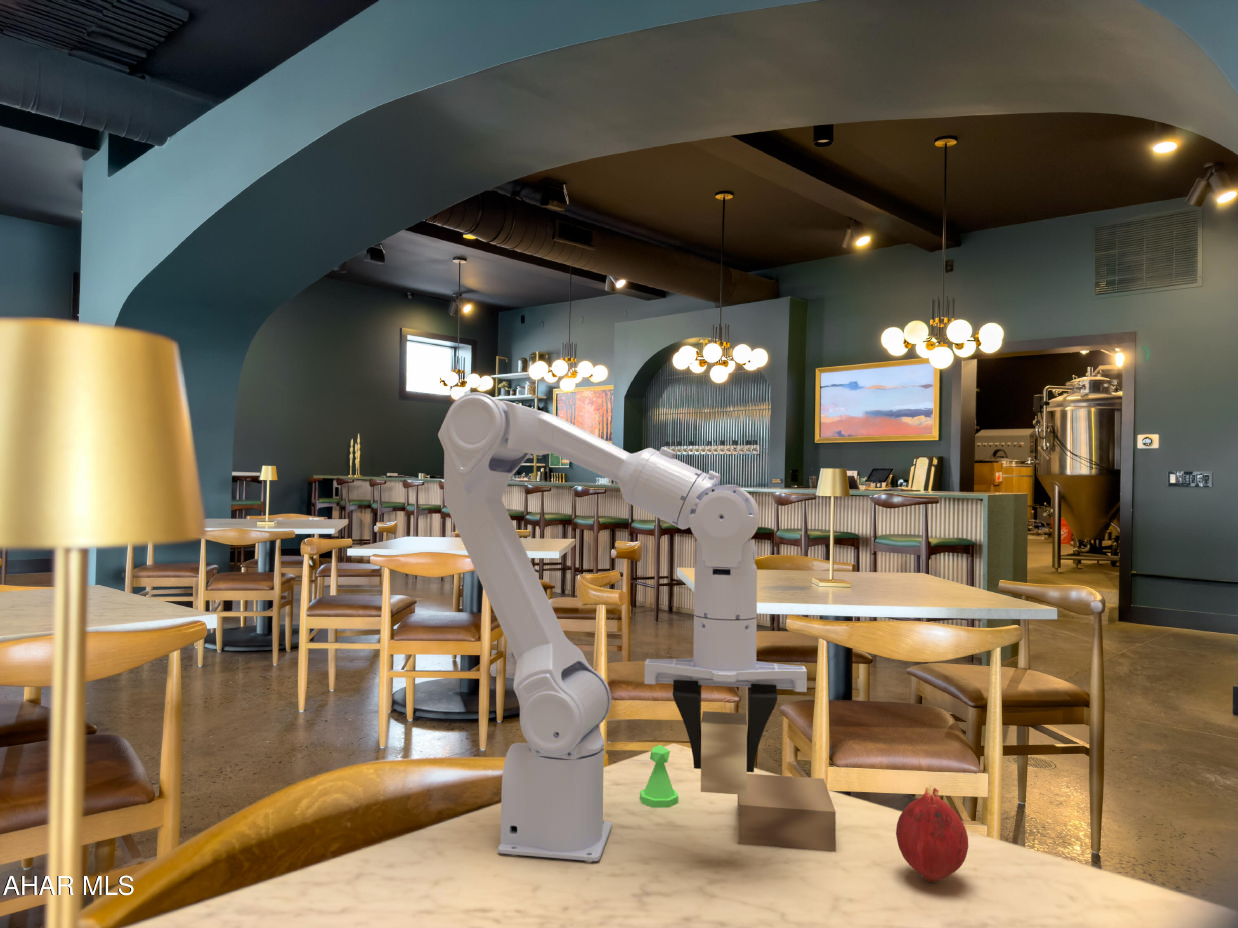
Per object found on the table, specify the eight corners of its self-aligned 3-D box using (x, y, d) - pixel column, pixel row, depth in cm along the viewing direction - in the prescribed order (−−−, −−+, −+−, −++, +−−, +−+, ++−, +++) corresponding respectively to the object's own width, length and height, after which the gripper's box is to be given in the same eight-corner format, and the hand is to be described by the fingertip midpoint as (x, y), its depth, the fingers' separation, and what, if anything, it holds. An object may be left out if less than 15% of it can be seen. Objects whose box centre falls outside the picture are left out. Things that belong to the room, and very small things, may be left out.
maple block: (700, 791, 67) (701, 722, 68) (702, 775, 71) (702, 710, 72) (746, 794, 67) (747, 725, 67) (745, 778, 71) (745, 713, 71)
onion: (976, 902, 63) (975, 803, 63) (902, 893, 64) (902, 796, 64) (959, 869, 68) (958, 778, 69) (891, 862, 69) (891, 773, 70)
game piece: (634, 804, 82) (635, 748, 82) (645, 790, 86) (646, 736, 86) (673, 810, 81) (674, 752, 81) (682, 795, 85) (683, 741, 85)
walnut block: (738, 847, 73) (739, 804, 73) (737, 810, 82) (737, 772, 82) (835, 855, 71) (835, 811, 72) (823, 816, 80) (823, 778, 81)
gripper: (641, 618, 67) (639, 776, 66) (810, 625, 65) (810, 788, 64) (649, 608, 74) (647, 751, 73) (802, 614, 72) (802, 760, 71)
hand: (723, 766), depth 69 cm, fingers closed on maple block, 4 cm apart
